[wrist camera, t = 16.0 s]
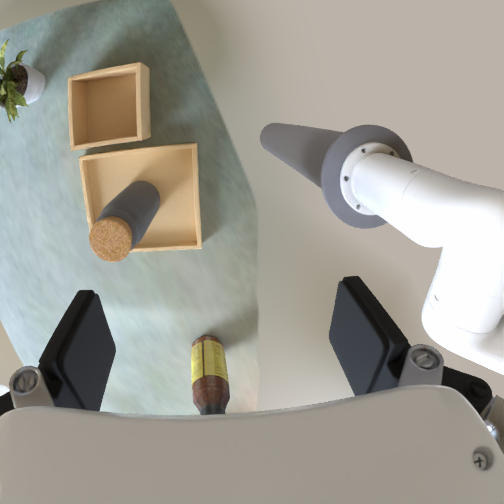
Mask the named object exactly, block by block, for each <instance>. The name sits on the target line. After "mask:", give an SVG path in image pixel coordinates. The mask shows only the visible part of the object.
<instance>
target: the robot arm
mask: <svg viewBox="0 0 504 504" xmlns="http://www.w3.org/2000/svg"><path fill="white" fill-rule="evenodd" d="M362 149H363V150H362ZM345 176H346V178H345V179H344V177H345ZM340 187H341V191H342V194H343V197H344V199H345V200H346V202H347V203H348V204H349V205H350V206H351V207H352V208H353V209H354V210H356V211H357V212H359V213H362V214H365V215H379V216H380V217H382V218H383V219H384V220H386V221H387V222H389V223H390V224H391V225H393V226H394V227H396V228H397V229H398V230H400V231H401V232H402V233H404V234H405V235H406V236H408V237H409V238H410V239H412V240H413V241H414V242H416V243H418V244H420V245H422V246H426V247H442V246H443V250H442V253H441V256H440V261H439V264H438V267H437V270H436V273H435V276H434V278H433V281H432V284H431V286H430V289H429V292H428V295H427V297H426V300H425V303H424V306H423V310H422V323H423V326H424V328H425V330H426V332H427V333H428V334H429V336H430V337H431V338H432V339H433V340H434V341H436V342H437V343H438V344H440V345H441V346H443V347H445V348H446V349H448V350H450V351H452V352H454V353H456V354H458V355H460V356H463V357H465V358H467V359H469V360H472V361H474V362H476V363H478V364H481V365H483V366H485V367H487V368H490V369H492V370H494V371H496V372H499V373H501V374H503V375H504V314H503V313H504V191H503V190H500V189H496V188H491V187H486V186H482V185H477V184H473V183H470V182H466V181H462V180H459V179H456V178H454V177H451V176H448V175H445V174H443V173H440V172H437V171H434V170H431V169H429V168H426V167H423V166H421V165H418V164H415V163H412V162H409V161H406V160H403V159H401V158H400V157H399V155H398V154H397V153H396V151H395V150H393V149H392V148H391V147H389V146H387V145H385V144H382V143H377V142H369V143H365V144H362V145H360V146H358V147H357V148H355V149H354V150H353V151H352V152H351V153H350V154H349V155H348V157H347V158H346V160H345V162H344V163H343V166H342V169H341V174H340ZM329 340H330V343H331V345H332V347H333V349H334V351H335V353H336V355H337V358H338V360H339V362H340V364H341V366H342V368H343V370H344V373H345V375H346V377H347V379H348V381H349V383H350V386H351V388H352V390H353V392H354V395H355V397H350V398H345V399H340V400H334V401H329V402H324V403H318V404H312V405H306V406H300V407H292V408H285V409H277V410H269V411H258V412H247V413H234V414H217V415H141V414H124V413H112V412H100V407H101V403H102V399H103V395H104V391H105V388H106V384H107V380H108V377H109V373H110V370H111V367H112V363H113V360H114V357H115V353H116V347H115V343H114V341H113V338H112V335H111V332H110V329H109V326H108V323H107V320H106V317H105V314H104V311H103V308H102V305H101V301H100V298H99V295H98V294H95V292H94V291H93V290H79V291H78V292H77V294H76V296H75V297H74V299H73V301H72V302H71V304H70V305H69V307H68V309H67V310H66V312H65V314H64V316H63V317H62V319H61V321H60V322H59V324H58V326H57V328H56V330H55V331H54V333H53V335H52V337H51V339H50V340H49V342H48V344H47V346H46V348H45V350H44V352H43V354H42V356H41V358H40V360H39V363H40V364H39V366H38V368H36V367H33V366H25V367H22V368H20V369H19V370H17V371H16V372H15V373H14V374H13V375H12V377H11V378H10V382H9V389H10V391H9V392H7V393H6V394H4V395H2V396H0V504H504V399H502V398H501V397H499V396H498V395H496V396H495V398H494V397H492V391H491V388H490V387H489V385H488V384H487V383H486V382H485V381H484V380H482V379H480V378H478V377H475V376H472V375H469V374H466V373H463V372H460V371H457V370H454V369H451V368H448V367H446V366H443V365H444V360H443V357H442V355H441V354H440V352H439V351H438V350H437V349H435V348H434V347H431V346H429V345H424V344H417V345H414V346H412V347H411V346H410V344H409V343H408V340H407V338H406V337H405V336H404V335H403V333H402V332H401V330H400V329H399V328H398V326H397V325H396V324H395V322H394V321H393V320H392V319H391V317H390V316H389V315H388V313H387V312H386V310H385V309H384V308H383V306H382V305H381V304H380V303H379V301H378V300H377V299H376V297H375V296H374V295H373V294H372V292H371V291H370V290H369V289H368V287H367V286H366V285H365V284H364V282H363V281H362V280H361V279H360V277H359V276H350V277H344V278H343V280H342V281H340V282H339V284H338V289H337V295H336V300H335V306H334V311H333V316H332V322H331V327H330V331H329Z"/></svg>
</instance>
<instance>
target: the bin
mask: <svg viewBox="0 0 504 504" xmlns="http://www.w3.org/2000/svg"><path fill="white" fill-rule="evenodd" d="M68 110H69V131H70V144H71V151H74V150H79V149H85V148H91V147H97V146H103V145H110V144H117V143H124V142H132V141H141V140H145V139H147V138H150V137H151V124H150V68H148V67H147V66H145V65H144V64H143V63H141V62H138V63H132V64H126V65H120V66H115V67H110V68H105V69H100V70H96V71H91V72H87V73H83V74H79V75H75V76H71V77H68Z"/></svg>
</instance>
